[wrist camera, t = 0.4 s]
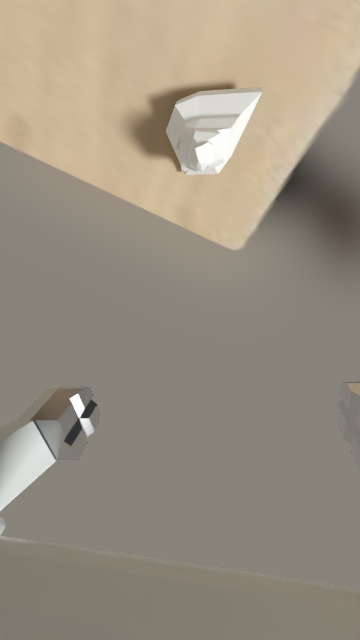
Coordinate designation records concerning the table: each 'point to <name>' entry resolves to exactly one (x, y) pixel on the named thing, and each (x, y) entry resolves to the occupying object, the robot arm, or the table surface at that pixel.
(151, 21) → the table surface
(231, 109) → the white angular chunk
